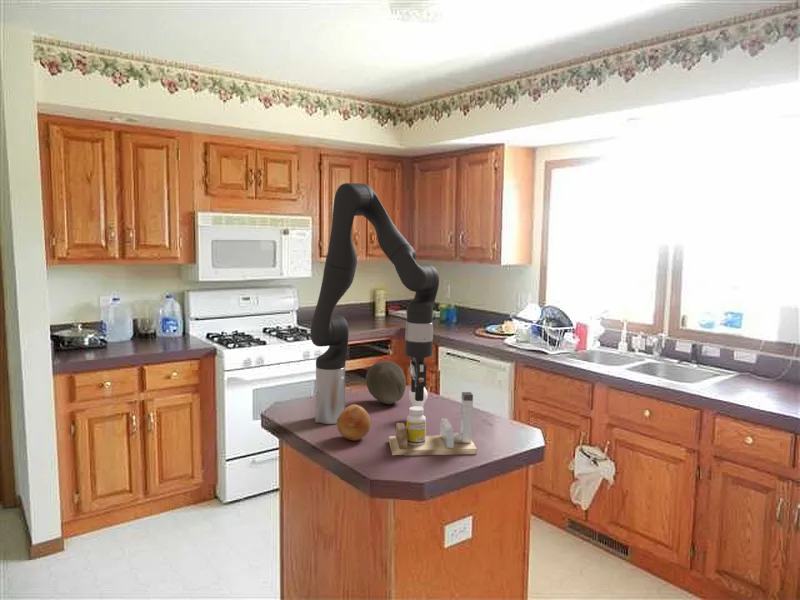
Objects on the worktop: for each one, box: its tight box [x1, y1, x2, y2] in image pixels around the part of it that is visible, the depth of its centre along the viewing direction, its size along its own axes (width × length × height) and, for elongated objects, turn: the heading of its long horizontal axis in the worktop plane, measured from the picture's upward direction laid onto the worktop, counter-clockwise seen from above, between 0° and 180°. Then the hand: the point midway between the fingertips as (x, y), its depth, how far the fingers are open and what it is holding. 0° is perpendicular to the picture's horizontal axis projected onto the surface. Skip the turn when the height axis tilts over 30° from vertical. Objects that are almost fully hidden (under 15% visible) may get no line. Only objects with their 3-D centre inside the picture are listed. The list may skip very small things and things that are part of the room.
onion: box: [336, 403, 372, 442], centre depth 166 cm, size 10×10×10 cm
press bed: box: [388, 422, 478, 456], centre depth 161 cm, size 23×11×6 cm, turn 96°
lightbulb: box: [408, 387, 429, 408], centre depth 186 cm, size 6×6×11 cm
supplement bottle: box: [405, 405, 427, 445], centre depth 160 cm, size 5×5×10 cm
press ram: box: [439, 391, 474, 448], centre depth 161 cm, size 8×10×14 cm
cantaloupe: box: [365, 360, 407, 405], centre depth 203 cm, size 14×14×15 cm
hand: (416, 396), depth 159 cm, fingers open, 8 cm apart
